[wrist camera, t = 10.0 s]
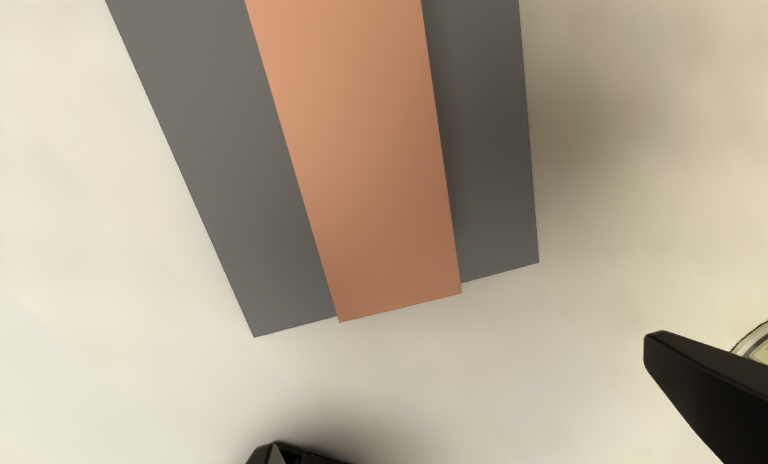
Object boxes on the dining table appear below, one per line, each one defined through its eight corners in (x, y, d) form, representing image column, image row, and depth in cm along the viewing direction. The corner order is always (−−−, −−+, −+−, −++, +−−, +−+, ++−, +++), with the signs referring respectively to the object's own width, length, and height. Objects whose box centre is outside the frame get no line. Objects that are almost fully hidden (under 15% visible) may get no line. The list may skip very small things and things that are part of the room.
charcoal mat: (534, 258, 22) (539, 262, 21) (255, 332, 21) (253, 337, 21) (500, -151, 15) (505, -159, 14) (87, -55, 14) (79, -59, 14)
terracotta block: (461, 293, 16) (404, -112, 11) (339, 322, 15) (222, -76, 10) (432, 243, 20) (382, -54, 15) (337, 266, 20) (256, -28, 15)
